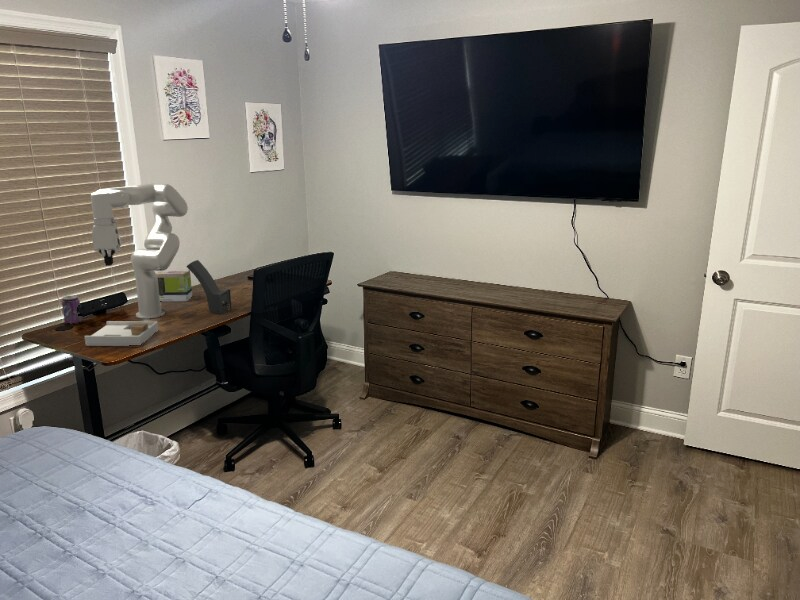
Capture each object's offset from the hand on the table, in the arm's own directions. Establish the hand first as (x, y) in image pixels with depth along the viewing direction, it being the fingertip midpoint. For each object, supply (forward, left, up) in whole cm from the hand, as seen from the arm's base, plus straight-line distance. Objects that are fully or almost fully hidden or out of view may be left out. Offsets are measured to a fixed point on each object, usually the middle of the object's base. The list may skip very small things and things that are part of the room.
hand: (109, 265), depth 256 cm
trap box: (+10, +7, -29) cm, 32 cm away
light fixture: (-30, +32, -29) cm, 53 cm away
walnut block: (+11, +15, -27) cm, 32 cm away
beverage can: (-10, -24, -29) cm, 39 cm away
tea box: (-50, +8, -29) cm, 59 cm away
